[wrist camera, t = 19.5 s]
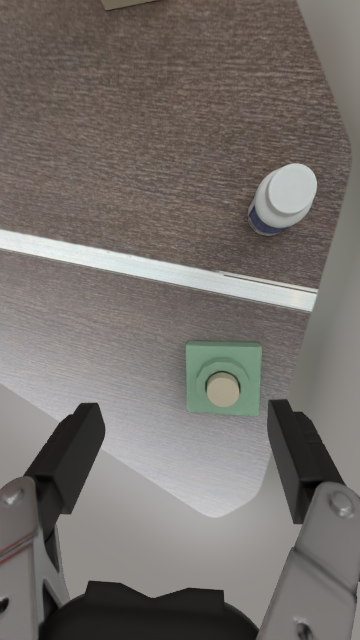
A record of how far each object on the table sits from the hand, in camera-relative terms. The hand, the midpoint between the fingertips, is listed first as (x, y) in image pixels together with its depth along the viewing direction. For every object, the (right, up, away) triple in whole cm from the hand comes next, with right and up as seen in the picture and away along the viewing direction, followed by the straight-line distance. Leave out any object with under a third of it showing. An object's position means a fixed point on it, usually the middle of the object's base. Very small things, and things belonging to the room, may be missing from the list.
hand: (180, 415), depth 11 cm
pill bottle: (+11, +18, +19) cm, 28 cm away
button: (+6, -4, +20) cm, 22 cm away
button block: (+6, -3, +24) cm, 25 cm away
